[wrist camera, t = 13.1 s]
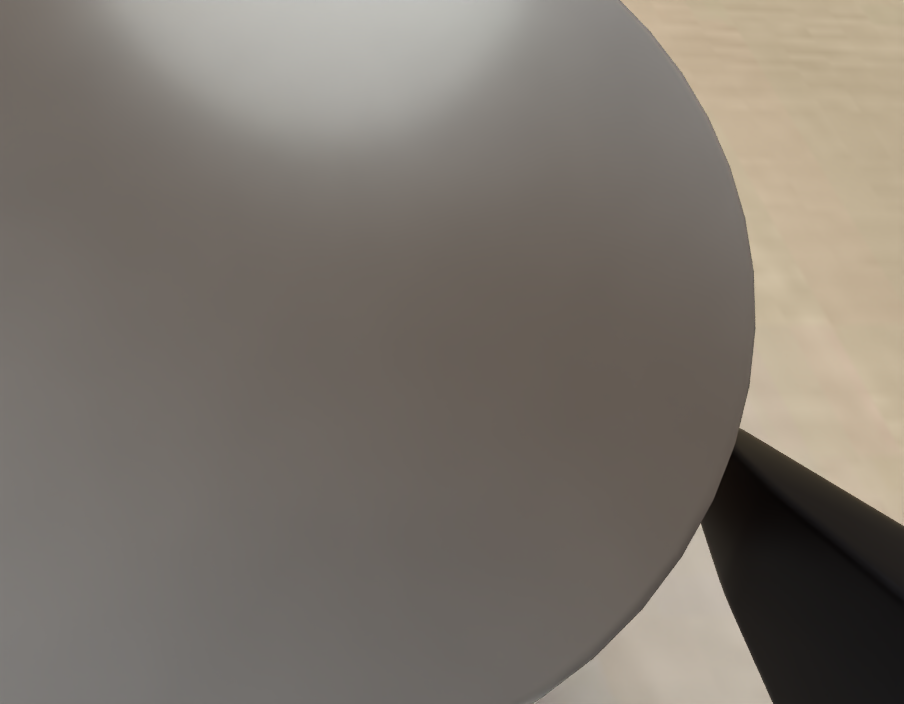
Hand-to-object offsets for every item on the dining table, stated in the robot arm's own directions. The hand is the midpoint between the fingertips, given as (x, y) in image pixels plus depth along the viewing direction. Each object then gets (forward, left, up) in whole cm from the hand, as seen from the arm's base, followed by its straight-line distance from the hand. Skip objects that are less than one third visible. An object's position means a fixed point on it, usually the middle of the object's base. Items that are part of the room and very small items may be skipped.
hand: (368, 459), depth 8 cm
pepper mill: (0, +1, -8) cm, 8 cm away
